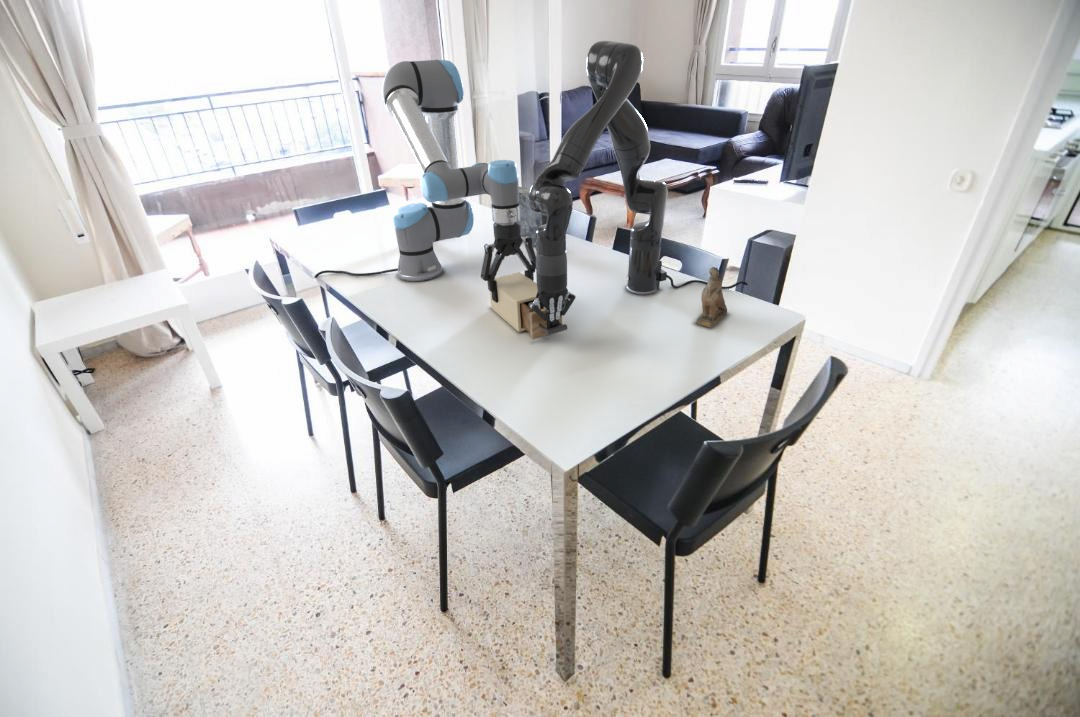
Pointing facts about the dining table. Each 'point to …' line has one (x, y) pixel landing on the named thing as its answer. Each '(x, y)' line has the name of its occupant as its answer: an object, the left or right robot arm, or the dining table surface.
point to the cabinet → (513, 297)
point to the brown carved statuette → (712, 301)
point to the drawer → (537, 322)
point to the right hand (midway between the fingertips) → (553, 331)
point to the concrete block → (529, 216)
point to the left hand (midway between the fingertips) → (512, 296)
